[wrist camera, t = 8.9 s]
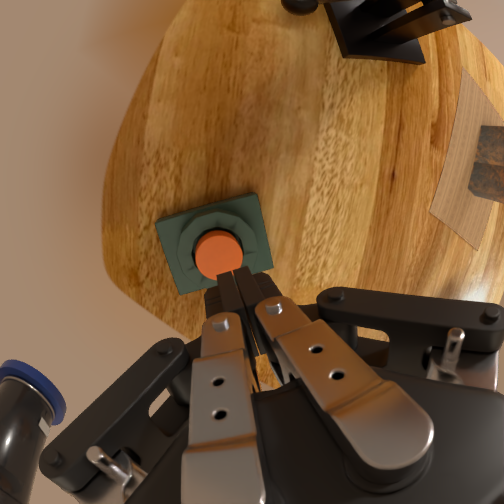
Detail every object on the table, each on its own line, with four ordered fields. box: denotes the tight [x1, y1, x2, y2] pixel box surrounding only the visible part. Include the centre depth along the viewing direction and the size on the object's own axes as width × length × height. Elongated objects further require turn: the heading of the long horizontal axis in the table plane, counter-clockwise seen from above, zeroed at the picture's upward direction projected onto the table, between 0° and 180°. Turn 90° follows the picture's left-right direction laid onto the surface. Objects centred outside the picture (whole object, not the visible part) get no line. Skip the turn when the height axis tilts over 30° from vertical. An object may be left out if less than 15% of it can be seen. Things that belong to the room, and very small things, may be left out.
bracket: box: [323, 0, 472, 65], centre depth 15 cm, size 12×9×13 cm
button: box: [195, 230, 243, 280], centre depth 22 cm, size 4×4×2 cm
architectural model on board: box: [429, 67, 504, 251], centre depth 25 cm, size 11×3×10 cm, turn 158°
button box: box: [155, 192, 274, 295], centre depth 24 cm, size 9×7×4 cm
